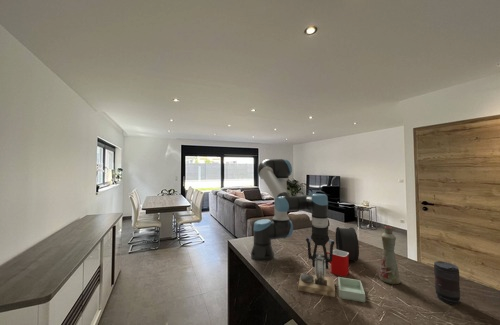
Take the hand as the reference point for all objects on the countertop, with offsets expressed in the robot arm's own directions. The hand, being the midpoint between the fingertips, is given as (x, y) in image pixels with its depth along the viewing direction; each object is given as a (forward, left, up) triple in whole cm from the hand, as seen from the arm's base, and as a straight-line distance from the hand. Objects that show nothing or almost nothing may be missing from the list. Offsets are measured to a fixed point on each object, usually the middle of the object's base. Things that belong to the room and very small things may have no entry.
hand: (320, 274), depth 100 cm
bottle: (+33, +18, -6) cm, 38 cm away
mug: (+8, +20, -6) cm, 22 cm away
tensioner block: (-2, 0, -6) cm, 6 cm away
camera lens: (+52, +8, -6) cm, 53 cm away
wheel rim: (+15, +39, -6) cm, 42 cm away
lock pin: (0, 0, -5) cm, 5 cm away
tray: (+13, 0, -6) cm, 15 cm away
